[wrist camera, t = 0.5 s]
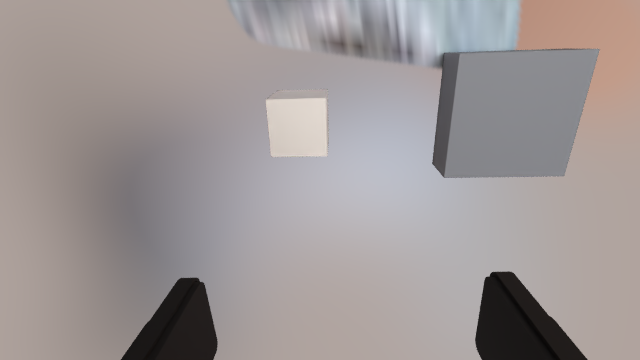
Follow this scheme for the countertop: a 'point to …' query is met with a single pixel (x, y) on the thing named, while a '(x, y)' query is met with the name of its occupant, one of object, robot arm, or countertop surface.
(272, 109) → the cube
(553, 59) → the plinth
